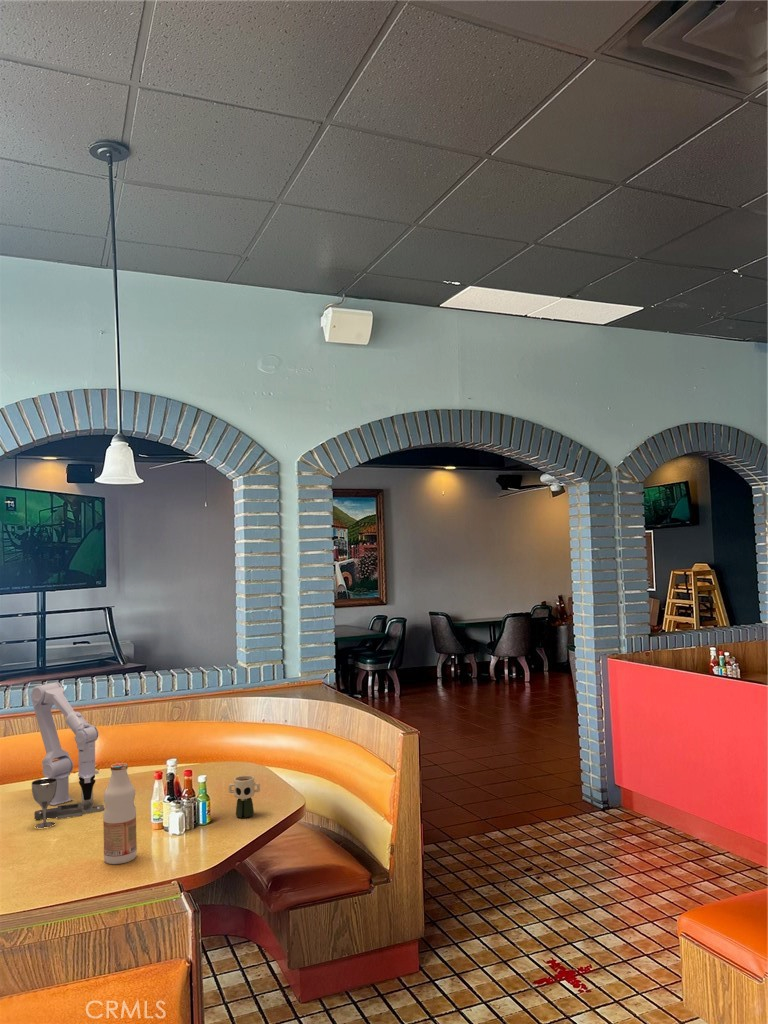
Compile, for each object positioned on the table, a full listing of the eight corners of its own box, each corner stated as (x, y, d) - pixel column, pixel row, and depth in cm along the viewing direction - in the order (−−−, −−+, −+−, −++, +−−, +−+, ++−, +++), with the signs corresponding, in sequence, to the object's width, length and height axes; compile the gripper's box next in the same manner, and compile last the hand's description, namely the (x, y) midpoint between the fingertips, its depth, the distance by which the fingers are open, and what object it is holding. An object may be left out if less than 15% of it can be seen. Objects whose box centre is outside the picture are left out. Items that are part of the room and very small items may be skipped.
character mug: (227, 820, 265) (226, 781, 266) (231, 813, 272) (230, 775, 273) (258, 819, 265) (258, 780, 266) (262, 812, 272) (261, 774, 273)
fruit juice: (107, 867, 227) (106, 770, 229) (100, 857, 235) (99, 764, 237) (140, 860, 232) (138, 765, 234) (132, 850, 240) (131, 758, 242)
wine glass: (62, 823, 267) (62, 779, 268) (43, 830, 260) (43, 785, 261) (45, 820, 271) (45, 776, 271) (26, 828, 263) (26, 783, 264)
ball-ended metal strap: (33, 822, 268) (33, 815, 269) (34, 815, 276) (34, 809, 276) (104, 812, 277) (104, 805, 277) (103, 806, 285) (103, 799, 285)
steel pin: (79, 806, 285) (79, 781, 286) (90, 803, 288) (89, 778, 289) (84, 808, 282) (84, 783, 283) (95, 805, 285) (94, 780, 286)
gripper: (99, 763, 281) (99, 801, 280) (97, 754, 294) (98, 790, 294) (78, 766, 278) (78, 804, 278) (77, 756, 292) (78, 793, 291)
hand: (87, 797), depth 285 cm, fingers closed on steel pin, 4 cm apart
